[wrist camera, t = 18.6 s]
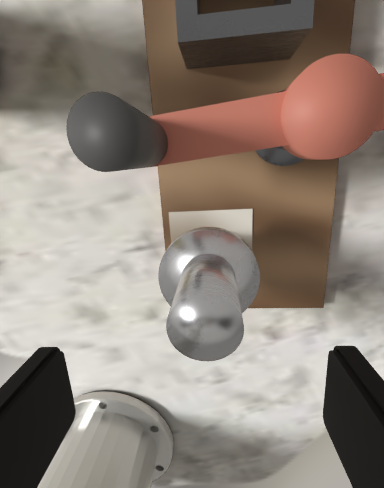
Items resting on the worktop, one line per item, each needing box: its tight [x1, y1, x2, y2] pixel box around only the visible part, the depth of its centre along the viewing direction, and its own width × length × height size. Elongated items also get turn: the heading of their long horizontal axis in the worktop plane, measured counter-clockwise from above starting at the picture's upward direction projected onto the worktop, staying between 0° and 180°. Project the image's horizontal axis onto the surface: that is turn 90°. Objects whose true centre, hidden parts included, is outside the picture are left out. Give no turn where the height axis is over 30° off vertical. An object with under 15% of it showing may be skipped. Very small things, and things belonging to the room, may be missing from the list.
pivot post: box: [255, 90, 304, 166], centre depth 15 cm, size 4×4×5 cm
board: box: [142, 0, 355, 308], centre depth 18 cm, size 26×12×1 cm, turn 3°
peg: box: [159, 227, 260, 361], centre depth 15 cm, size 6×6×10 cm
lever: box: [67, 54, 384, 172], centre depth 9 cm, size 18×4×6 cm, turn 99°
